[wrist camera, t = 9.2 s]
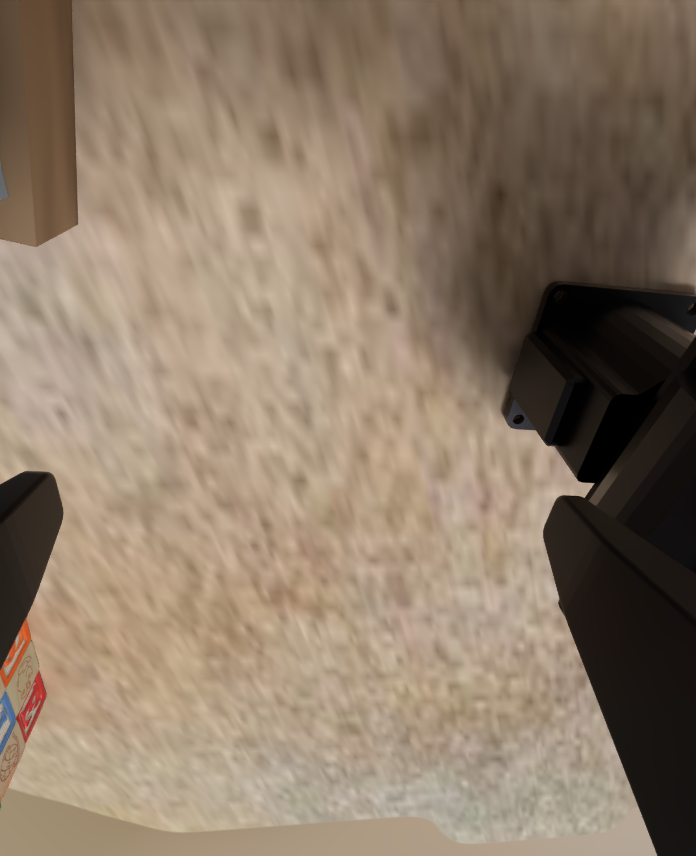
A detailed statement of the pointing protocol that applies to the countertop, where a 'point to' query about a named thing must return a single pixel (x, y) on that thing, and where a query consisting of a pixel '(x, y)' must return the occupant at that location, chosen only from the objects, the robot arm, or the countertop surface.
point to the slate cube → (2, 186)
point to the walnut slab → (37, 120)
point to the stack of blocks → (18, 703)
